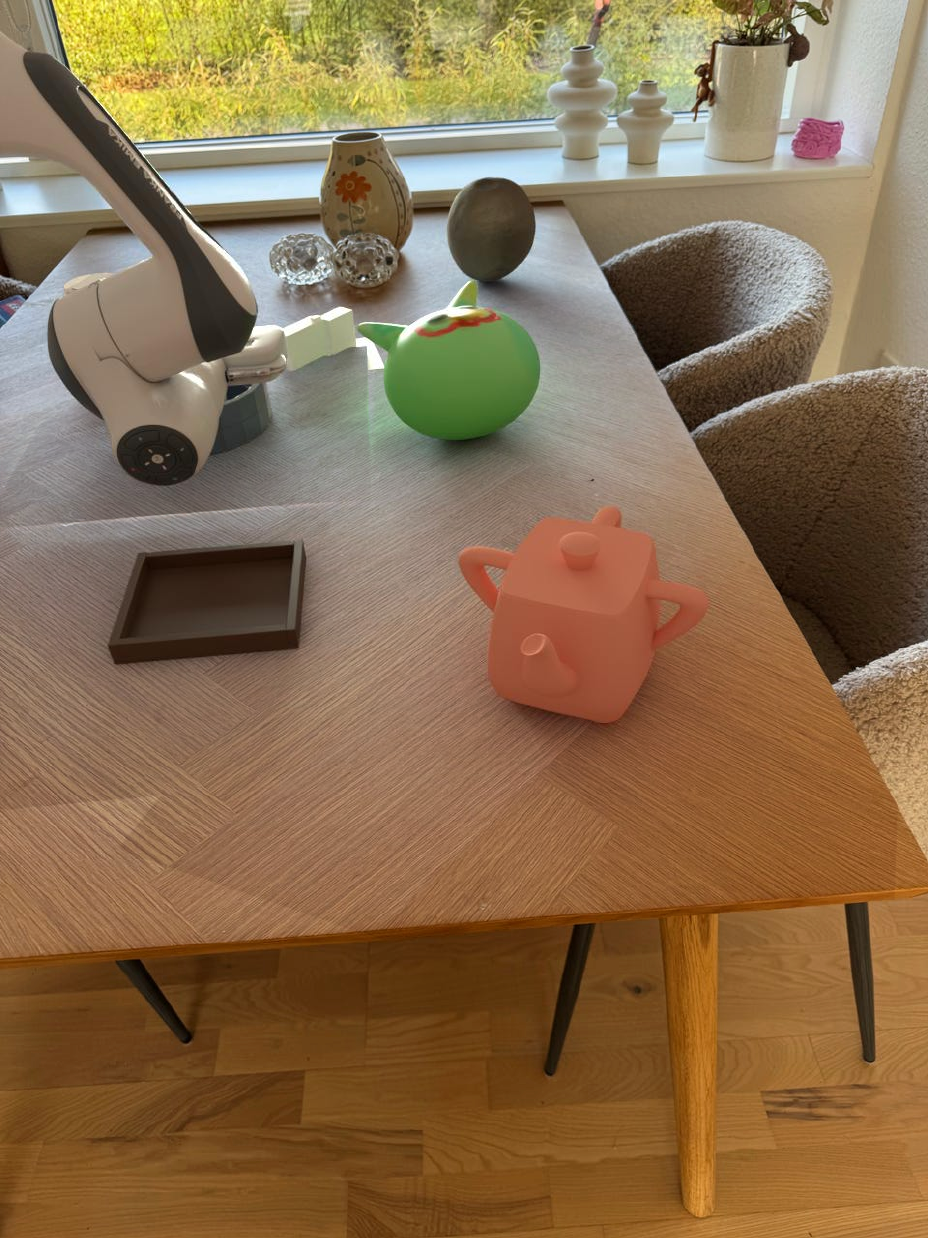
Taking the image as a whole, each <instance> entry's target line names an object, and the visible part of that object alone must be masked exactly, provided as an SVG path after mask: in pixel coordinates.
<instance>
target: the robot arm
mask: <svg viewBox="0 0 928 1238" xmlns="http://www.w3.org/2000/svg"><path fill="white" fill-rule="evenodd" d="M10 157H11V158H12V157H13V158H17V157H18V158H31V159H39V160H45V161H50V162H53V163H56V164H60V165H62V166H64V167H67V168H69V169H71V170H73V172H76V173H78V174H79V175H80V176H81V177H82V178H84V179H85V180H86V181H87V182H88V183H89V184H90V185H91V186H92V187H93V188H94V190H96V192H97V193H98V194H99V195H100V196H101V197H102V199H103V200H104V201H105V202H106V203H107V204H108V205H109V207H110V208H111V209H112V210H113V211H114V212H115V214H116V215H117V216H118V217H119V218H120V219H121V220H122V222H123V223H124V224H125V225H126V226H127V228H128V229H130V231H131V232H132V234H133V235H135V236H136V237H137V238H138V240H139V241H140V242H141V244H143V246H144V247H145V248H146V249H147V250H148V251H149V252H150V253H151V256H150V257H149V258H146V259H144V260H142V261H140V262H138V263H136V264H133V265H131V266H129V267H126V268H124V269H122V270H120V271H118V272H116V273H113V274H114V275H111V276H109V277H107V278H102V279H100V280H98V281H95V282H93V283H91V284H89V285H87V286H85V287H82V288H80V289H78V290H76V291H74V292H72V293H70V294H68V295H66V296H64V297H63V296H62V297H59V298H57V299H55V300H54V302H53V304H52V306H51V308H50V310H49V315H48V320H47V335H46V336H47V352H48V357H49V359H50V362H51V365H52V367H53V369H54V371H55V373H56V374H57V377H58V378H59V380H60V381H61V383H62V385H64V387H65V388H66V390H67V391H68V393H70V395H71V396H72V397H73V398H74V399H75V400H76V401H77V402H78V403H79V404H80V405H81V406H83V407H84V408H85V409H86V410H87V411H89V412H90V413H92V414H93V415H94V416H95V417H97V418H98V419H100V420H102V421H103V422H104V423H105V425H106V429H107V431H108V435H109V439H110V445H111V449H112V453H113V456H114V458H115V460H116V462H117V464H118V465H119V466H120V468H121V469H122V470H123V471H124V473H126V474H127V475H128V476H130V477H131V478H132V479H134V480H136V481H137V482H140V483H143V484H146V485H149V486H150V485H151V486H155V487H156V486H159V487H168V486H174V485H178V484H181V483H184V482H186V481H188V480H190V479H191V478H193V477H194V476H195V475H196V474H197V473H199V471H200V470H201V469H202V468H203V466H204V465H205V464H206V462H207V460H208V459H209V457H210V456H211V455H210V452H211V450H212V448H213V445H214V442H215V438H216V434H217V430H218V425H219V417H220V415H221V413H222V410H223V406H224V402H225V398H226V394H227V390H228V386H234V385H246V384H259V383H266V384H267V383H270V382H272V381H274V380H277V378H279V377H280V375H281V374H283V373H284V372H285V371H286V363H287V358H288V350H287V343H286V338H285V333H284V330H283V328H282V327H279V326H277V325H262V326H255V325H256V322H257V319H258V316H259V306H258V302H257V299H256V296H255V293H254V291H253V288H252V285H251V283H250V281H249V279H248V278H247V275H246V274H245V273H244V271H243V269H242V268H241V267H240V266H239V265H238V263H237V262H236V260H235V259H233V257H232V256H231V255H230V253H229V252H228V251H227V250H226V249H225V248H224V247H223V245H221V243H219V242H218V241H217V240H216V239H215V238H214V236H213V235H211V233H209V232H208V231H207V230H206V229H205V227H203V226H202V224H201V223H200V222H199V221H198V220H197V219H196V218H195V217H194V215H193V214H192V213H191V212H190V211H189V210H188V209H187V207H186V206H185V205H184V203H183V202H182V201H181V200H180V199H179V197H178V196H177V195H176V194H175V192H174V191H173V190H172V189H171V187H170V186H169V185H168V184H167V182H166V181H165V180H164V178H162V176H161V175H160V174H159V172H157V170H156V169H155V168H154V166H153V165H152V164H151V163H150V161H149V160H148V159H147V158H146V156H144V154H143V152H142V151H141V150H140V149H139V148H138V147H137V145H136V144H135V143H134V142H133V141H132V140H131V139H130V137H129V135H127V133H126V132H125V131H124V130H123V129H122V128H121V126H120V125H119V123H117V121H116V120H115V119H114V117H113V116H112V115H111V114H110V113H109V111H107V109H106V108H105V107H104V106H103V105H102V104H101V102H100V101H99V100H98V99H97V98H96V97H95V95H94V94H93V93H92V92H91V91H90V90H89V88H88V87H86V85H85V84H84V83H83V82H82V81H81V80H80V79H79V78H78V76H76V75H75V73H73V72H72V71H71V70H70V69H69V68H68V67H67V66H65V64H63V63H62V62H61V61H59V59H57V57H54V56H53V55H52V54H49V53H45V52H37V51H32V50H31V51H30V50H27V49H26V48H24V47H23V46H21V45H20V44H18V43H17V42H15V41H14V40H13V39H11V38H10V37H8V36H7V35H6V34H5V33H3V32H2V31H1V30H0V158H10Z"/></svg>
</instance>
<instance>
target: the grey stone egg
mask: <svg viewBox="0 0 928 1238" xmlns="http://www.w3.org/2000/svg"><path fill="white" fill-rule="evenodd" d="M536 225H537V223H536V216H535V211H534V207H533V206H532V203H531V201H530V199H529V198H528V195H527V194H526V192H525V190H524V189H523V188H522V187H521V185H520V184H518V183H516V182H515V181H513V180H511V179H510V178H506V177H498V176H486V177H481V178H477V179H475V180H472V181H471V182H469V183H467V184H466V185H465V186H464V187H463V188H462V189H461V190H460V191H459V192H458V194H456V196H455V198H454V200H453V202H452V204H451V206H450V209H449V212H448V215H447V221H446V241H447V246H448V249H449V252H450V255H451V257H452V259H453V260H454V263H455V264H456V266H457V267H458V268H459V270H460V271H461V272H462V273H463V274H464V275H465V276H467V277H468V278H470V279H472V280H474V281H478V280H479V281H478V282H493V281H498V280H501V279H503V278H505V277H507V276H508V275H510V274H512V272H514V271H516V269H518V267H519V266H521V264H523V262H524V261H525V259H526V258H528V255H529V254H530V252H531V250H532V248H533V244H534V241H535V236H536V229H537V226H536Z"/></svg>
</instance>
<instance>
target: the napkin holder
mask: <svg viewBox="0 0 928 1238" xmlns="http://www.w3.org/2000/svg"><path fill="white" fill-rule="evenodd" d="M353 311H354V310H353V309H351V308H347V307H344V306H337V307H335V308H333V309H332V310H329V311H326V312H325V313H323V314H320V315H318V314H315V315H309V316H307V317H304V318H302V319H300V320H297V321H296V322H294V323H291V324H289V325H287V326H285V327H283V328H282V329H283V330H284V333H285V338H286V343H287V350H288V358H287V363H286V369H285V371H289V372H294V371H296V370H298V369H301V368H302V367H304V366H306V365H307V364H308V365H309V364H310V363H312V362H314V361H316V360H317V359H320V358H322V357H323V356H326V357H330V356H335V355H337V354H339V353H341V352H343V351H345V350H347V349H349V348H358V347H366V348H367V349H366V351H367V354H366V355H367V371H372V370H381V369H384V365H385V364H384V363H383V361H382V358H381V356H380V353H379V352H378V350H377V348H376V344H375V343H373V342H372V341H370V340H369V339H367V338H366V337H360V338H357V337H356V328H355V319H354V312H353Z"/></svg>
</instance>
